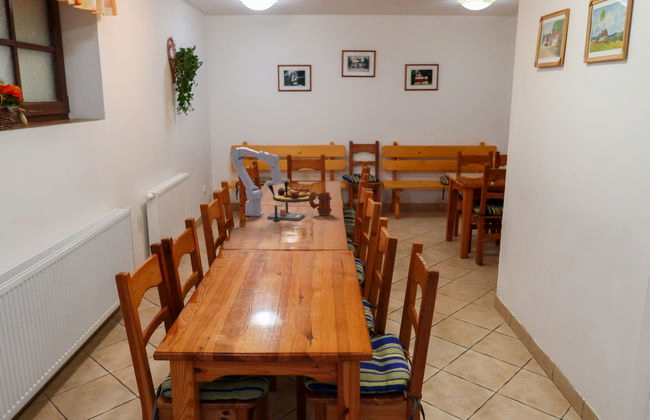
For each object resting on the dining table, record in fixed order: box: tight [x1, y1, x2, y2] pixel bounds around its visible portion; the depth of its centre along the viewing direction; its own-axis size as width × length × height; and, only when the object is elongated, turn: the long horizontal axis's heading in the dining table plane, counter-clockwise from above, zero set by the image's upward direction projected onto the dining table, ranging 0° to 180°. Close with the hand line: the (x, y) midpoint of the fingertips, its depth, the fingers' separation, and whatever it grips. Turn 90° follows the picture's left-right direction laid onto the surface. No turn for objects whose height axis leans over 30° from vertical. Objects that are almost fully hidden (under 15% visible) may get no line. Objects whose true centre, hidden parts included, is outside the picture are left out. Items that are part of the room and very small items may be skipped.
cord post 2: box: [284, 200, 291, 213], centre depth 322 cm, size 4×4×9 cm
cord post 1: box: [272, 205, 280, 223], centre depth 305 cm, size 4×4×9 cm
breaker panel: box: [266, 212, 306, 222], centre depth 314 cm, size 20×12×2 cm, turn 73°
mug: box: [308, 190, 333, 217], centre depth 319 cm, size 15×8×15 cm, turn 84°
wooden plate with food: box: [272, 186, 317, 202], centre depth 377 cm, size 32×32×8 cm
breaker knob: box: [279, 208, 286, 216], centre depth 314 cm, size 3×3×4 cm
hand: (280, 195), depth 312 cm, fingers open, 7 cm apart
